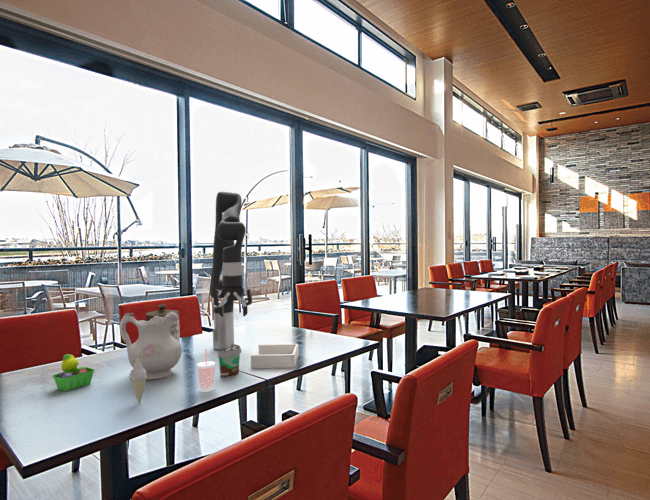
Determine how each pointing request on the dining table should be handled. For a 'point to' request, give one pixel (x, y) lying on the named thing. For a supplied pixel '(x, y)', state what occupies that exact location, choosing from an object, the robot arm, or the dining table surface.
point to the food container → (229, 361)
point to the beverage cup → (206, 374)
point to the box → (275, 356)
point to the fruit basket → (72, 374)
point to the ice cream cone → (138, 379)
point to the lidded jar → (161, 313)
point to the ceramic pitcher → (153, 344)
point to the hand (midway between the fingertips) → (233, 316)
